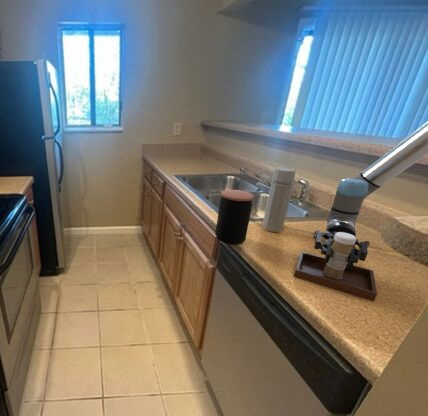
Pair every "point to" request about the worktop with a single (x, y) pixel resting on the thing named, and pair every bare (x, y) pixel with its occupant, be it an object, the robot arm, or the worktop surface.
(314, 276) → the tray
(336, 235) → the sprinkles bottle
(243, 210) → the coffee jar
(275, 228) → the grey thermos flask
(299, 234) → the worktop surface
